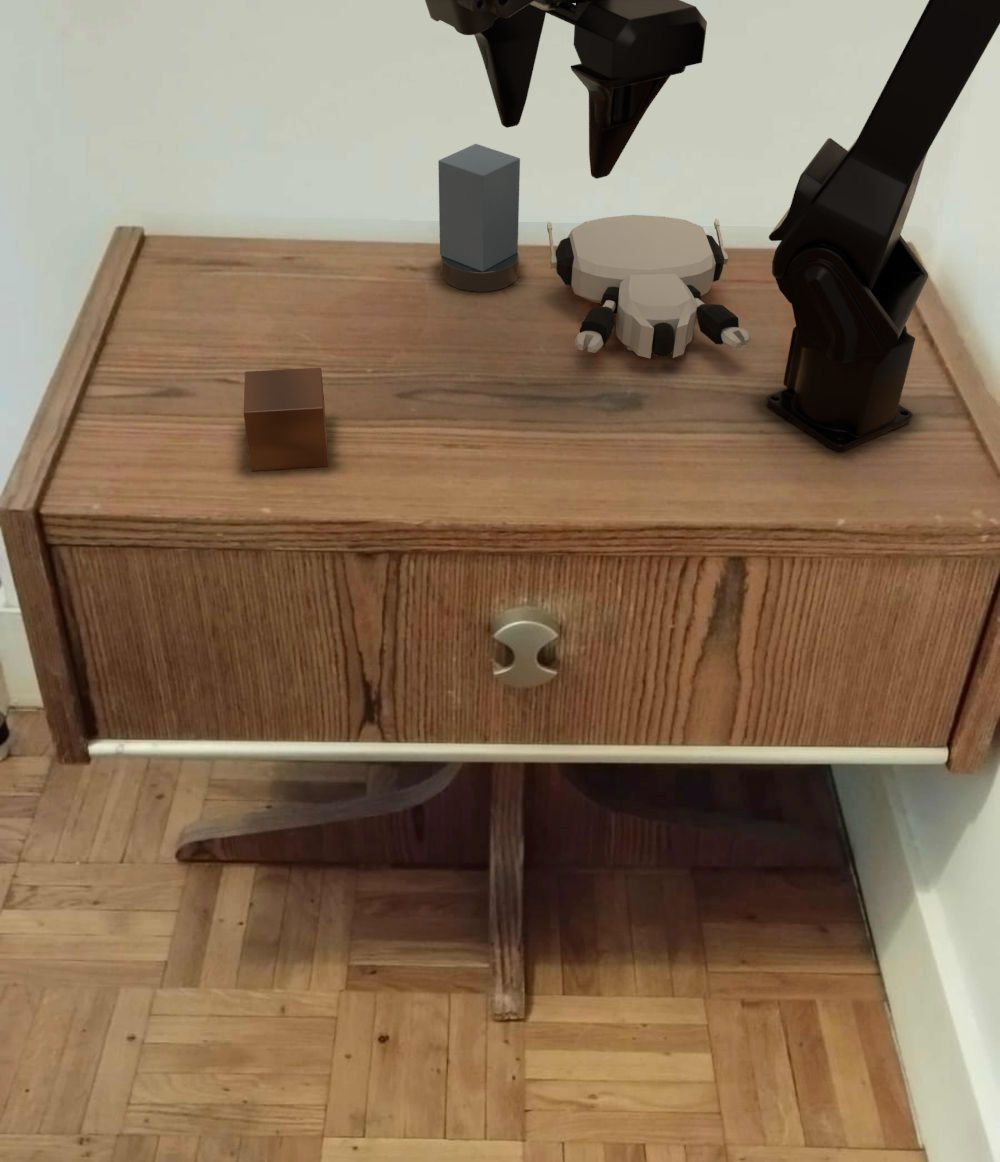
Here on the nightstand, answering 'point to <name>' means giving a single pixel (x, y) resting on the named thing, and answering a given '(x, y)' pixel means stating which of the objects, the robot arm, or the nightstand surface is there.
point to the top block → (479, 206)
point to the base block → (285, 419)
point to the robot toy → (646, 283)
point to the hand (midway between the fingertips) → (553, 150)
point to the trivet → (480, 275)
